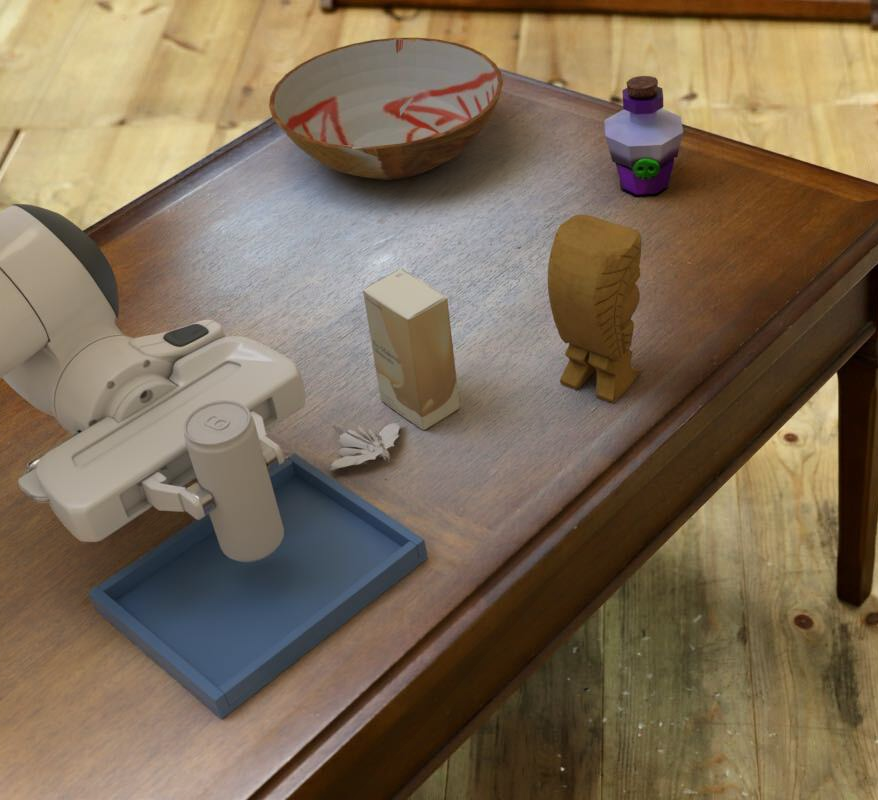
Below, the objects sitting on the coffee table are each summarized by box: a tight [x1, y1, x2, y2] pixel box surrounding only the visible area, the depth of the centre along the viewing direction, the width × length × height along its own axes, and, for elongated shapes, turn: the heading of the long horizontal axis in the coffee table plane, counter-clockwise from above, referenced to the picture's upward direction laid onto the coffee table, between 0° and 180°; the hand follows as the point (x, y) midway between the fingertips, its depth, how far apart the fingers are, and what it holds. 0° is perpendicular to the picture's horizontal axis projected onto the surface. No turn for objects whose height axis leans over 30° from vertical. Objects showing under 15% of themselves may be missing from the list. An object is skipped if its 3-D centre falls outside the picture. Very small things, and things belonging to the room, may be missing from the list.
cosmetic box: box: [362, 267, 461, 431], centre depth 116 cm, size 6×4×12 cm
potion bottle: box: [604, 75, 684, 198], centre depth 143 cm, size 9×9×12 cm
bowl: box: [268, 37, 504, 181], centre depth 151 cm, size 25×25×8 cm
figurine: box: [547, 214, 642, 404], centre depth 117 cm, size 7×7×15 cm
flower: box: [329, 420, 403, 471], centre depth 116 cm, size 8×8×3 cm
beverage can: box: [183, 400, 284, 562], centre depth 98 cm, size 5×5×12 cm
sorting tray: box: [87, 453, 428, 720], centre depth 104 cm, size 20×16×2 cm
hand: (241, 483), depth 97 cm, fingers closed on beverage can, 5 cm apart
